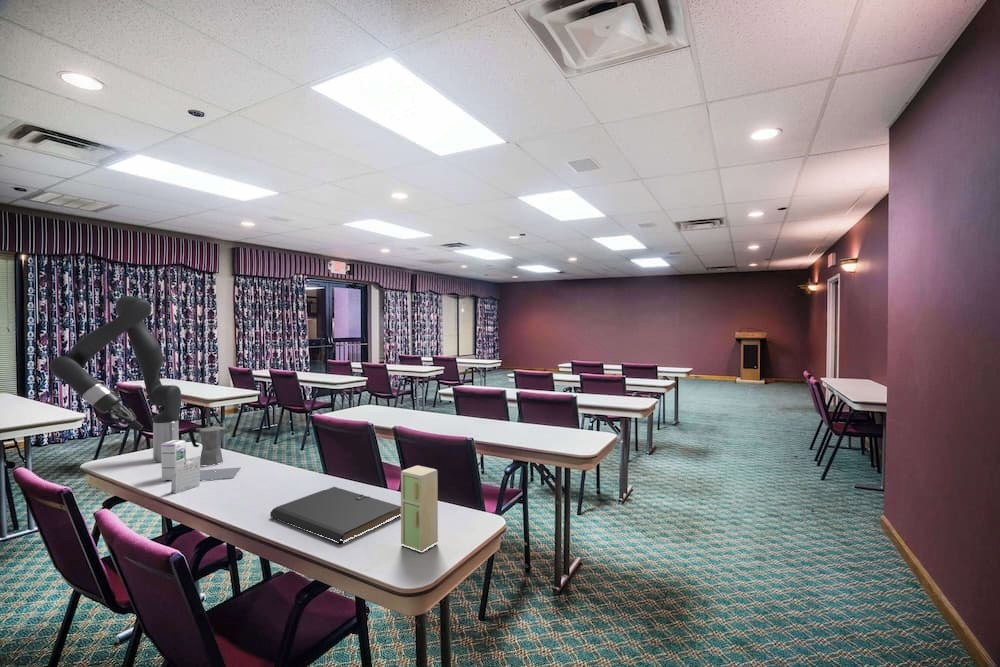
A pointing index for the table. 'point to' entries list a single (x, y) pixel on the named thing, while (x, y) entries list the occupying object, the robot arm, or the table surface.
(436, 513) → the toy refrigerator
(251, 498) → the table surface
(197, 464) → the ink box
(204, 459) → the coffeepot
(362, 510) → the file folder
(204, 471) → the mat
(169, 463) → the syrup box
